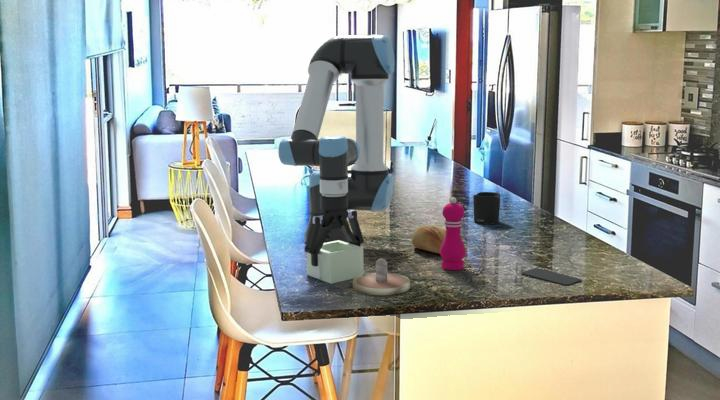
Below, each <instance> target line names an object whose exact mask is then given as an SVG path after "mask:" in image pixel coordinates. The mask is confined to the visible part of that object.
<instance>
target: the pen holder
mask: <svg viewBox="0 0 720 400" xmlns="http://www.w3.org/2000/svg"><path fill="white" fill-rule="evenodd" d="M472 197H473V221H474V223H476V224H479V225H496V224H497V223H499V221H500V220H499V219H500V206H501V194H500V193H498V192H493V191H480V192H478V193H476V194H473V195H472Z"/></svg>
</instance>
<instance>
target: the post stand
mask: <svg viewBox="0 0 720 400" xmlns="http://www.w3.org/2000/svg"><path fill="white" fill-rule="evenodd" d="M352 289H353V290H354V291H355V292H357V293H360V294H364V295H368V296H369V295H370V296H394V295H395V296H396V295H399V294H403V293H406V292H407V291H409V290H410V289H411V279H410V277H407V276H405V275H401V274H398V273H393V272H392V273H390V272H388V262H387V260H386V259H385V258H378V259H377V260H376V261H375V272H374V273H373V272H372V273H364V275H361V276H358V277H356V278H353V279H352Z"/></svg>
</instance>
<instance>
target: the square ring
mask: <svg viewBox="0 0 720 400" xmlns="http://www.w3.org/2000/svg"><path fill="white" fill-rule="evenodd" d="M319 254H321V263H322V278H320V279H319V278H316V277H314V267H313V266H312V264H311V254H310V253H307V252H306V274H307V276H310V277H312V278H315V279H317V280H320V281H323V282H326V283H328V284H336V283H340V282H345V281H349V280H353V279H354V278H356V277H358V276H361V275H365V273H364V247H363V246H357V245H353V244H350V243H347V242H343V241H340V240H337V241H332V242H327V243H324V244H323V246H322V248H321V250H320V252H319Z"/></svg>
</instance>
